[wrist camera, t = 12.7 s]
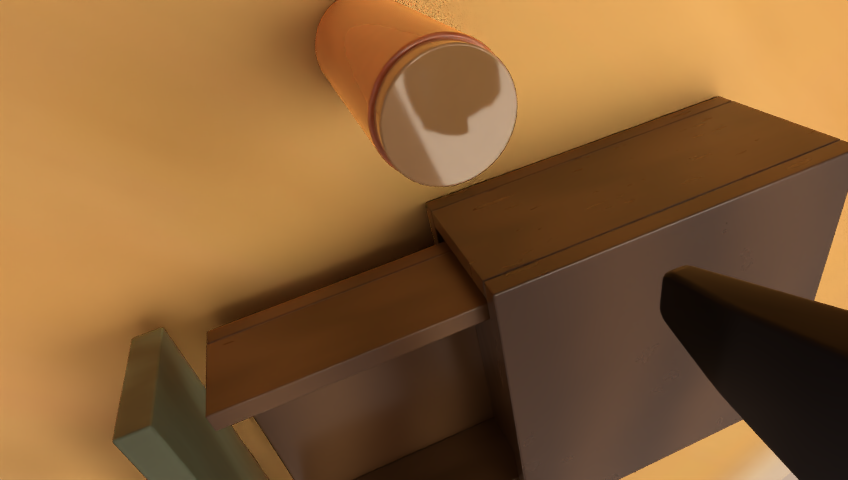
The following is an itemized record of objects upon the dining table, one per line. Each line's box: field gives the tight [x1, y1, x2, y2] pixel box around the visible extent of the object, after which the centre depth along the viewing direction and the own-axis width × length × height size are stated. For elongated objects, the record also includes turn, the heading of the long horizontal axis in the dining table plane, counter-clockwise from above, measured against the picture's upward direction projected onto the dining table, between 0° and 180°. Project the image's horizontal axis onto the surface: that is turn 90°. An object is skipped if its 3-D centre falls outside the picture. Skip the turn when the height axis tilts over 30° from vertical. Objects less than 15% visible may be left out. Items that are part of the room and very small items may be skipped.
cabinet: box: [425, 97, 848, 480], centre depth 24 cm, size 15×15×7 cm
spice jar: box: [315, 0, 517, 187], centre depth 15 cm, size 3×3×8 cm
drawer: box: [113, 242, 519, 480], centre depth 22 cm, size 18×13×5 cm
